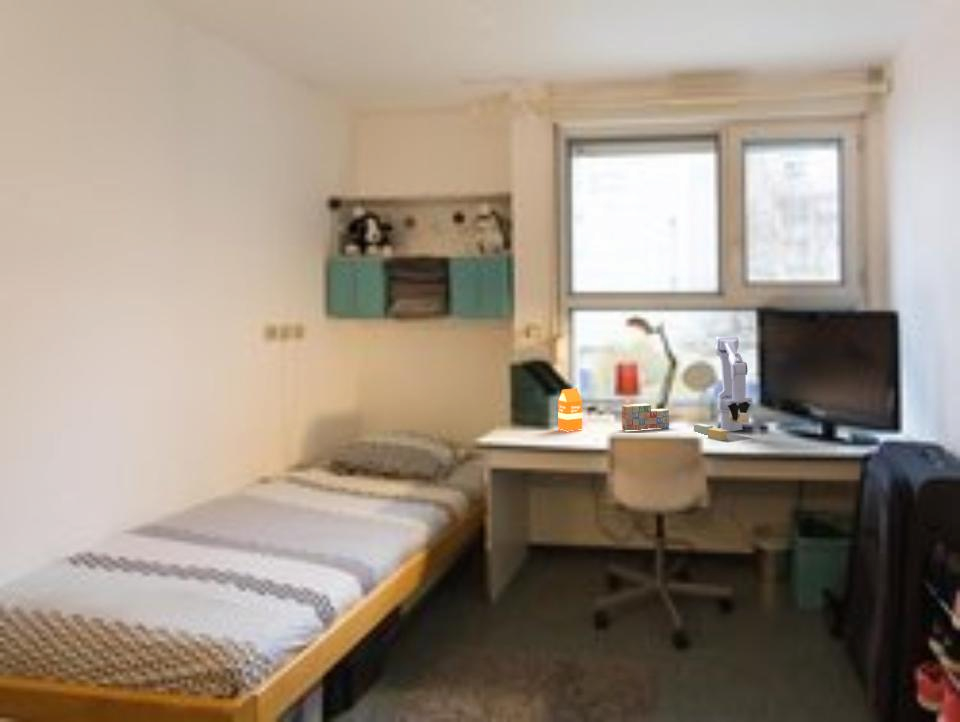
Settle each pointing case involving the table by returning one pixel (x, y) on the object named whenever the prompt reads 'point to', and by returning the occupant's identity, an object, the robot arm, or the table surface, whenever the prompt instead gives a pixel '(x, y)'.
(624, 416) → the stack of blocks
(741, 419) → the birch brick
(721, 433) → the ochre brick
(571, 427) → the orange juice
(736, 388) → the robot arm
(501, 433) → the table surface
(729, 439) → the desk mat
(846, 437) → the table surface
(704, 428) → the sage brick
